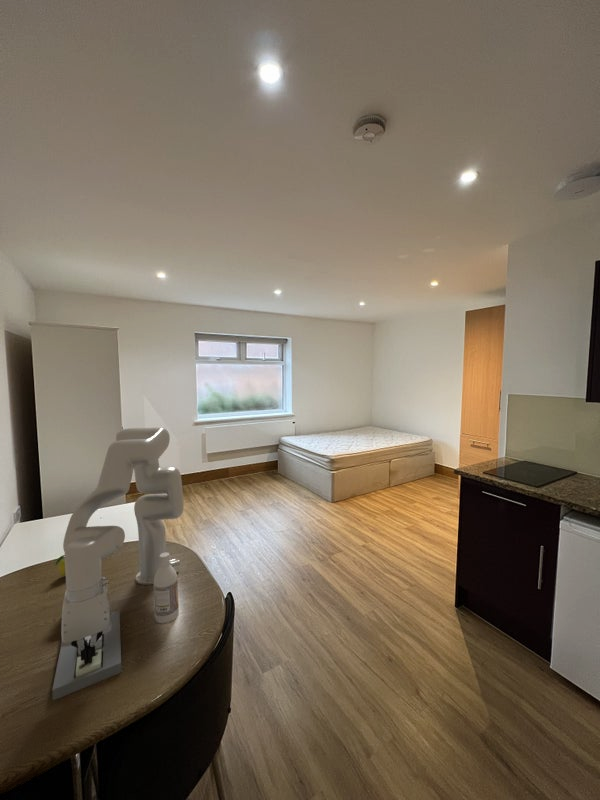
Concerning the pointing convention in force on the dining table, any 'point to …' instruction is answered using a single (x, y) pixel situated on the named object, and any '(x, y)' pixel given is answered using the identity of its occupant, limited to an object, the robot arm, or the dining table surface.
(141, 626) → the dining table surface
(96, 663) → the tile three
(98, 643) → the tile two
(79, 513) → the robot arm
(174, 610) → the bath foam
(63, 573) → the lemon
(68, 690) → the board
